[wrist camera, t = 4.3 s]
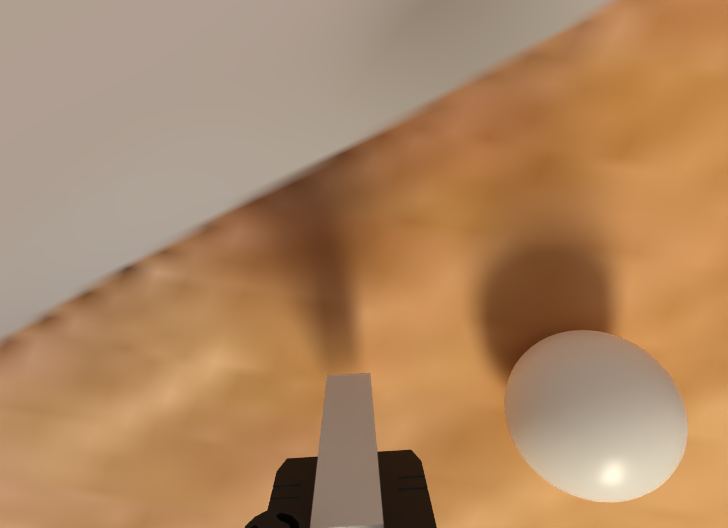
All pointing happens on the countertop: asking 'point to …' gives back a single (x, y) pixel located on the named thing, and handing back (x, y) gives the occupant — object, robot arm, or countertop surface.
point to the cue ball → (596, 416)
